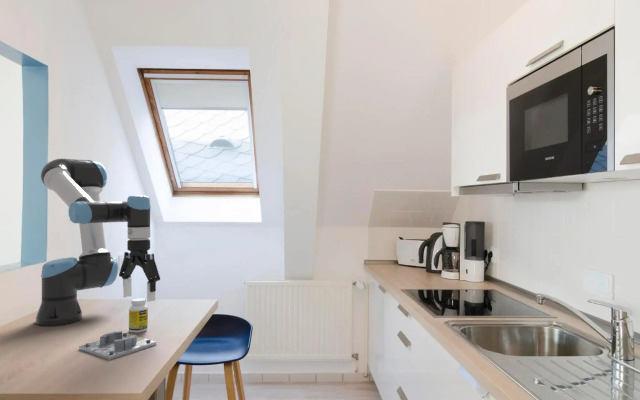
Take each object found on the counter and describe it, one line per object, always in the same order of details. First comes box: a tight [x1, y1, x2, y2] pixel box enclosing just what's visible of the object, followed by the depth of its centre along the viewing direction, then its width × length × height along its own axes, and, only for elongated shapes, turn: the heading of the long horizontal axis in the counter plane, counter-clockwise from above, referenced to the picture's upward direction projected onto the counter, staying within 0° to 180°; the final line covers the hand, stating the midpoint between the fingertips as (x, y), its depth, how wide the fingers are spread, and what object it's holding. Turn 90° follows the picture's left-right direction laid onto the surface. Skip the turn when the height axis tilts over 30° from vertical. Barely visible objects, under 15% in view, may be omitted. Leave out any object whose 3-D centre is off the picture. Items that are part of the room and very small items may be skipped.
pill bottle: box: [128, 297, 149, 334], centre depth 154 cm, size 6×6×11 cm
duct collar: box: [78, 330, 157, 361], centre depth 137 cm, size 16×16×4 cm
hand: (139, 298), depth 154 cm, fingers open, 13 cm apart
